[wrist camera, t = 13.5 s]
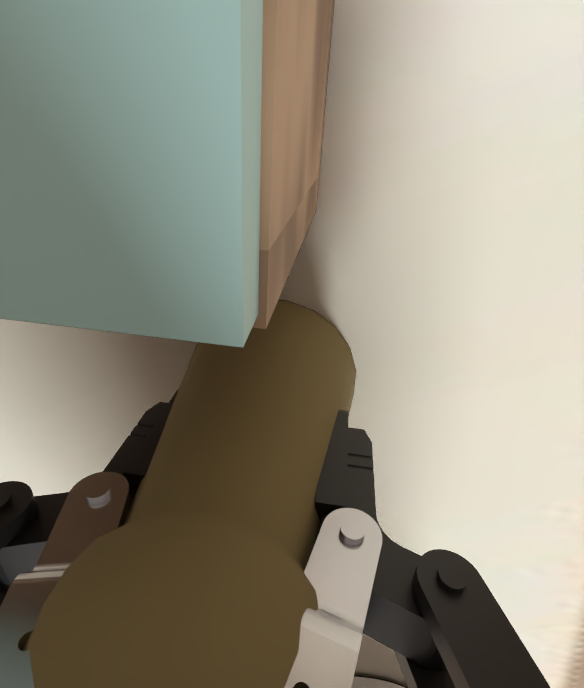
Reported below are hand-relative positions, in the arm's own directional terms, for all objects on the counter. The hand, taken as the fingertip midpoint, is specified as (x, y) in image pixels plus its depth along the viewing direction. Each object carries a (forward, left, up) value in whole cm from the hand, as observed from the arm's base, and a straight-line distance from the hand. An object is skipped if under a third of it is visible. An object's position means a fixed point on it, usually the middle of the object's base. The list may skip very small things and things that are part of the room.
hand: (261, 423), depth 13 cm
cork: (0, 0, -3) cm, 3 cm away
